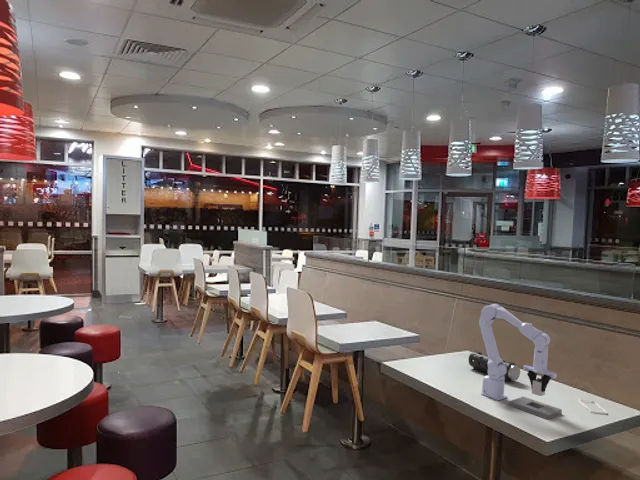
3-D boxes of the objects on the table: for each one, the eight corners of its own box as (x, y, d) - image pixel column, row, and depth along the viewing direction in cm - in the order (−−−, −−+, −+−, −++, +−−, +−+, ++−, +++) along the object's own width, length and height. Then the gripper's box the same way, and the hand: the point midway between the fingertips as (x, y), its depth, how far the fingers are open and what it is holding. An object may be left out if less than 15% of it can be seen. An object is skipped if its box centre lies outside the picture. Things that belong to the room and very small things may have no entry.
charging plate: (509, 405, 218) (509, 400, 218) (522, 400, 226) (523, 396, 226) (548, 419, 204) (548, 414, 204) (561, 413, 212) (561, 409, 212)
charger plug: (531, 393, 218) (533, 378, 217) (536, 391, 220) (537, 376, 220) (540, 396, 214) (541, 380, 214) (544, 394, 217) (546, 379, 217)
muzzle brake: (478, 367, 278) (480, 349, 278) (520, 382, 254) (522, 363, 254) (467, 369, 273) (468, 351, 273) (508, 384, 249) (510, 365, 249)
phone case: (607, 415, 214) (594, 403, 229) (608, 412, 214) (594, 400, 229) (590, 413, 215) (578, 401, 230) (590, 410, 215) (578, 399, 230)
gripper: (520, 357, 220) (518, 386, 220) (552, 365, 208) (550, 396, 209) (528, 355, 224) (526, 383, 225) (559, 363, 213) (557, 393, 213)
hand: (538, 389), depth 217 cm, fingers closed on charger plug, 4 cm apart
